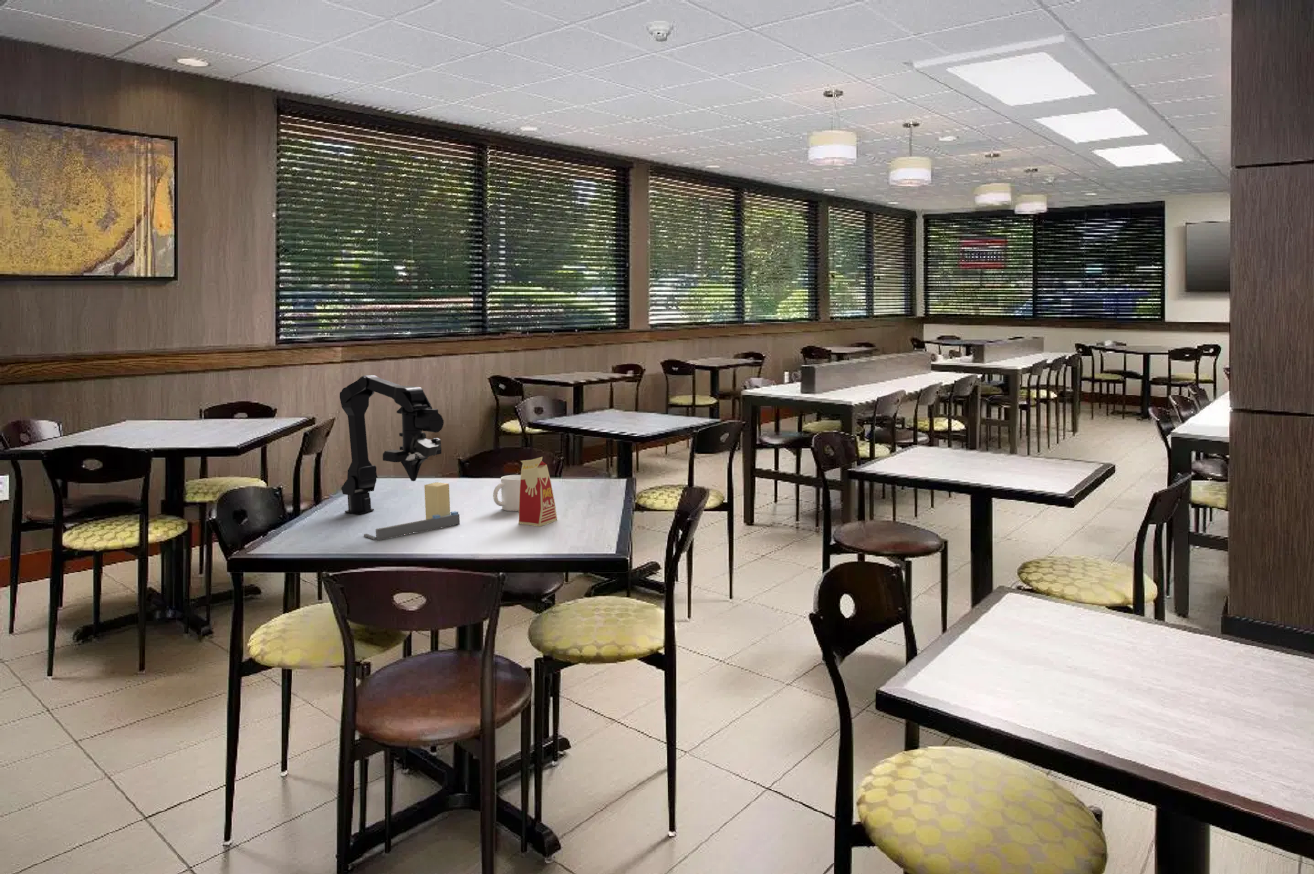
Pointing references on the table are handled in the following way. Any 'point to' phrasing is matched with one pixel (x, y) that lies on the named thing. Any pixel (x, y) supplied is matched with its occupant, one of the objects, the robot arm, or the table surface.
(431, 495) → the wooden block
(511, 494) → the mug
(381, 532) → the gray bench frame
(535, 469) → the milk carton
